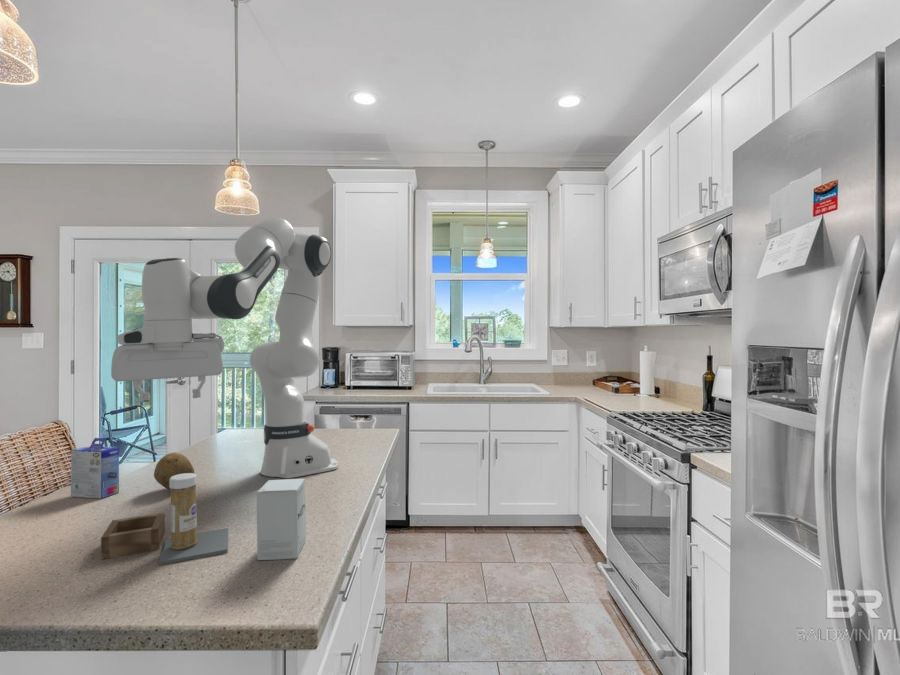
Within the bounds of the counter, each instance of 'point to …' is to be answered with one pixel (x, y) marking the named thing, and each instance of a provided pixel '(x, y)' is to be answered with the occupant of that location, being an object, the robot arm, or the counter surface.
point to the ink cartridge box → (95, 471)
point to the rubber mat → (197, 547)
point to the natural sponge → (171, 468)
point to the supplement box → (281, 519)
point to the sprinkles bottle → (183, 511)
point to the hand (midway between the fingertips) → (171, 399)
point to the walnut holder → (133, 535)
